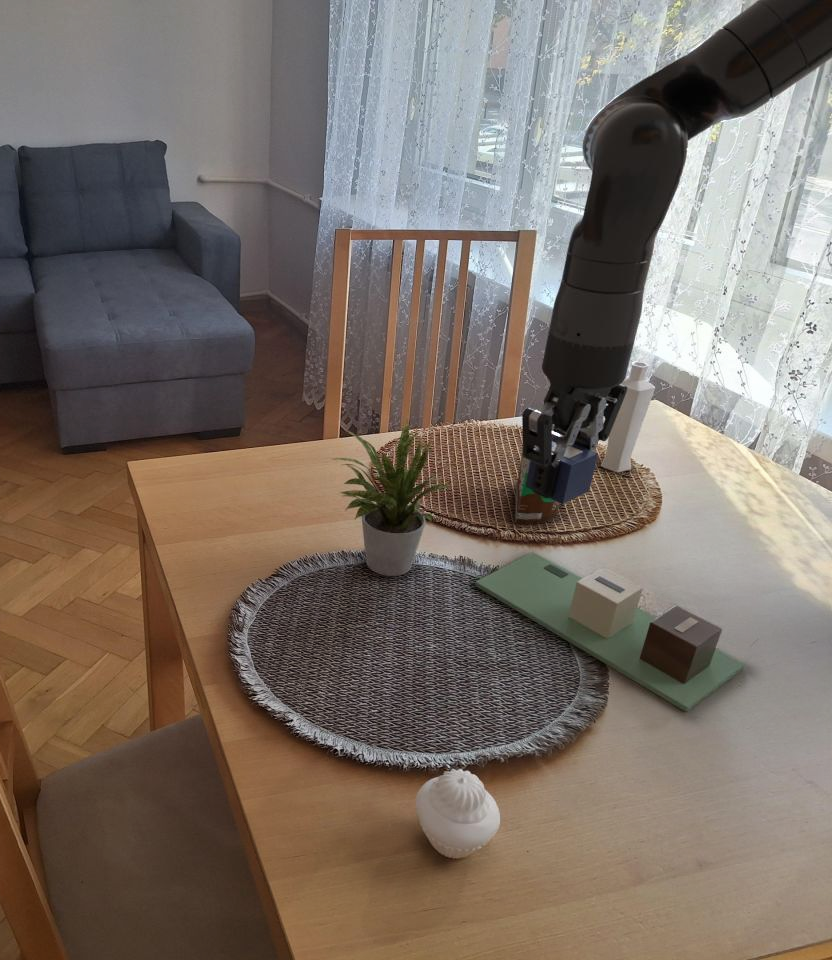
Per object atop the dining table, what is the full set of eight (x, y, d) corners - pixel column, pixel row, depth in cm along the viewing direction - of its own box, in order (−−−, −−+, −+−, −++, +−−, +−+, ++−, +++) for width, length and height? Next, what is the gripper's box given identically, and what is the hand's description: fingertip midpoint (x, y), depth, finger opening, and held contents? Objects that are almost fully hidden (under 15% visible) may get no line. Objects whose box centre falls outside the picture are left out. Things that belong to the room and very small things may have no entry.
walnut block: (664, 641, 86) (676, 604, 84) (709, 665, 82) (723, 628, 80) (638, 658, 84) (650, 621, 81) (684, 684, 80) (697, 646, 78)
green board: (531, 556, 100) (532, 551, 100) (742, 669, 83) (744, 663, 82) (474, 585, 95) (475, 580, 95) (686, 712, 78) (688, 707, 78)
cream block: (593, 601, 92) (602, 566, 89) (633, 622, 88) (643, 586, 86) (567, 616, 89) (576, 581, 87) (607, 639, 86) (617, 603, 84)
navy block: (551, 474, 92) (559, 436, 90) (589, 491, 89) (598, 452, 86) (524, 486, 90) (532, 448, 88) (562, 504, 87) (571, 464, 84)
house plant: (328, 520, 108) (335, 401, 100) (441, 529, 106) (458, 408, 98) (319, 586, 96) (327, 457, 88) (447, 599, 93) (467, 467, 85)
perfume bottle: (630, 476, 116) (657, 373, 109) (596, 468, 118) (620, 367, 111) (636, 463, 120) (662, 361, 112) (602, 455, 122) (626, 355, 114)
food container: (569, 537, 104) (585, 464, 99) (515, 529, 105) (528, 457, 100) (565, 488, 114) (580, 420, 109) (516, 482, 115) (528, 414, 111)
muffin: (403, 859, 65) (412, 795, 62) (418, 799, 70) (428, 737, 67) (487, 888, 63) (502, 823, 60) (497, 823, 68) (511, 760, 65)
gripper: (581, 357, 75) (545, 524, 83) (672, 325, 82) (631, 482, 90) (509, 334, 80) (482, 492, 88) (601, 305, 87) (568, 455, 95)
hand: (557, 486), depth 89 cm, fingers closed on navy block, 4 cm apart
